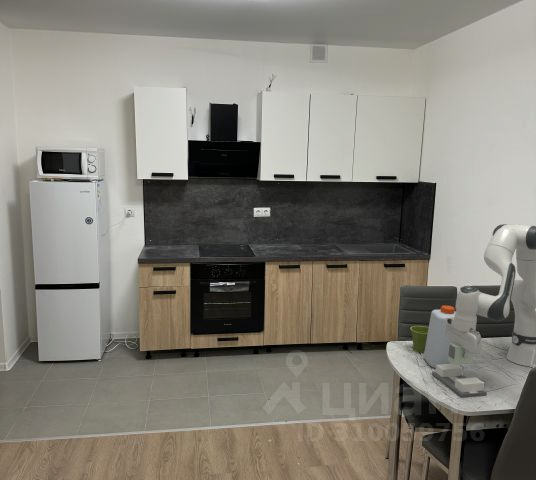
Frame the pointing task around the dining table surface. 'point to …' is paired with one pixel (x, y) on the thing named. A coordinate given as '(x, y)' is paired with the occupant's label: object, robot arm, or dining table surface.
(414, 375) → the dining table surface
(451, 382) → the board
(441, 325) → the plastic bottle
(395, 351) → the dining table surface
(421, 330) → the plant pot
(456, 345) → the block
